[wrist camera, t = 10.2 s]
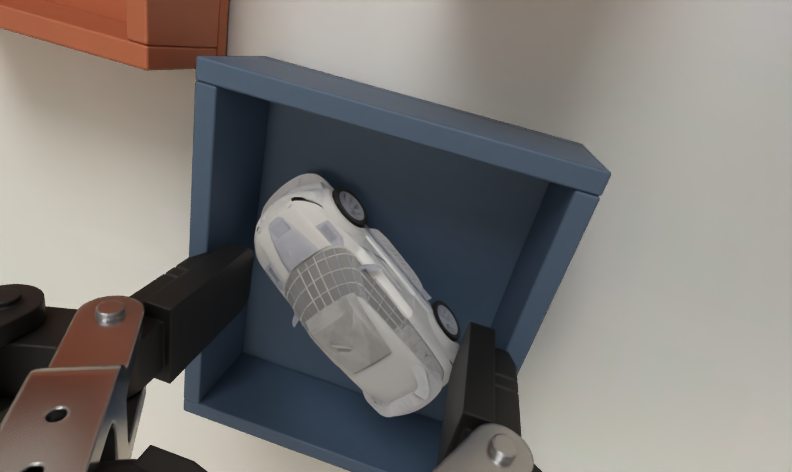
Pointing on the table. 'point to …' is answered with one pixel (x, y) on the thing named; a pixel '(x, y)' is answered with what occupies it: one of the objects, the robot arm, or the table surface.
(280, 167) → the blue bin
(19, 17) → the terracotta bin
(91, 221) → the table surface
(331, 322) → the toy car
